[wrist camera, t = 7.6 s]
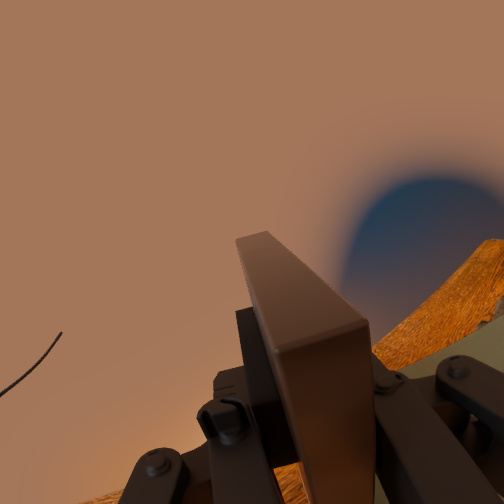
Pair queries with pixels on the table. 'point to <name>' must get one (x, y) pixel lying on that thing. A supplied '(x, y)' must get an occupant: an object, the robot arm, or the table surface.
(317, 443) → the drawer
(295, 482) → the table surface
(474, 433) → the robot arm
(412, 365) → the cabinet
